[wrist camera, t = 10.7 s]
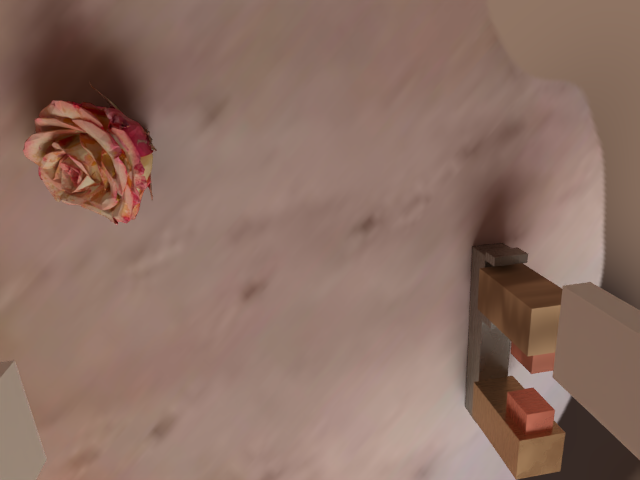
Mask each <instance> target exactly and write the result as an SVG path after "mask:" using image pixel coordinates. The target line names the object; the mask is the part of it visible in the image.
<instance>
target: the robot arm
mask: <svg viewBox="0 0 640 480" xmlns="http://www.w3.org/2000/svg"><path fill="white" fill-rule="evenodd" d="M553 378H554V379H555V380H556V381H557V382H558V383H559V384H560V385H561V386H562V387H563V388H564V389H565V390H566V391H568V392H569V393H570V394H571V395H572V396H573V397H574V398H575V399H576V400H577V401H578V402H579V403H580V404H581V405H582V406H583V407H584V408H585V409H587V410H588V411H589V412H590V413H591V414H592V415H593V416H594V417H595V418H596V419H597V420H598V421H599V422H600V423H601V424H603V426H604V427H606V428H607V429H608V430H609V431H610V432H611V433H612V434H613V435H614V436H615V437H616V438H617V439H618V440H619V441H620V442H621V443H622V444H623V445H625V446H626V447H627V448H628V449H629V450H630V451H631V452H632V453H633V454H634V455H635V456H636V457H637V458H638V459H639V460H640V310H638V309H636V308H634V307H633V306H631V305H629V304H627V303H626V302H624V301H622V300H620V299H619V298H617V297H615V296H613V295H612V294H610V293H608V292H606V291H605V290H603V289H601V288H600V287H598V286H596V285H594V284H593V283H591V282H588V283H581V284H573V285H566V286H563V290H562V298H561V307H560V316H559V325H558V334H557V343H556V352H555V361H554V369H553ZM46 460H47V459H46V456H45V452H44V449H43V446H42V443H41V440H40V437H39V434H38V431H37V428H36V425H35V421H34V418H33V415H32V412H31V409H30V406H29V403H28V400H27V397H26V394H25V391H24V387H23V384H22V381H21V378H20V375H19V372H18V369H17V366H16V363H15V360H13V361H6V362H0V480H36V479H37V477H38V475H39V473H40V471H41V469H42V467H43V465H44V463H45V462H46Z"/></svg>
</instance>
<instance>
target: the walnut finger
mask: <svg viewBox="0 0 640 480" xmlns="http://www.w3.org/2000/svg"><path fill="white" fill-rule="evenodd" d="M562 290H563V289H561V288H560V287H558V286H557V285H555V284H554V283H552V282H551V281H549V280H547V279H546V278H544V277H543V276H541V275H540V274H538V273H537V272H535V271H533V270H532V269H530V268H529V267H527V266H526V265H524V264H523V263H520V264H512V265H504V266H496V267H486V268H480V270H479V290H478V310H479V311H480V312H481V313H482V314H484V315H485V316H486V317H487V318H488V319H489V320H490V321H491V322H492V323H493V324H494V325H495V326H496V327H497V328H498V329H499V330H500V331H501V332H502V333H503V334H504V335H505V336H506V337H508V338H509V339H510V340H511V341H512V343H511V354H512V355H513V356H514V357H515V358H516V359H517V360H518V361H519V362H520V363H521V364H522V365H523V366H524V367H525V368H526V369H527V370H528V371H529V372H530V373H531V374H533V373H540V372H546V371H552V370H553V369H554V361H555V352H556V343H557V334H558V325H559V316H560V307H561V298H562Z"/></svg>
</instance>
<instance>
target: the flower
mask: <svg viewBox="0 0 640 480" xmlns="http://www.w3.org/2000/svg"><path fill="white" fill-rule="evenodd" d="M89 82H90V81H89ZM90 85H91V83H90ZM91 87H92V88H93V89H94V90H96V89H95V88H94V87H93V86H92V85H91ZM96 91H97V90H96ZM97 92H98V93H100V92H99V91H97ZM100 94H101V93H100ZM101 95H102V94H101ZM102 96H103V98H104V99H105V100H106V101H107V102H108V103H109V104H110V108H107V107H100V106H97V107H96V106H95V105H93V104H92V103H86V102H83V103H81V104H78V103H75V102H70V101H67V102H65V101H63V100H61V101H54V100H52V102H51V103H50V104H49V105H48V106H47V107H45V108H44V109H43V110H42V111H41V112H40V114H39V117H40V118H36V119H35V125H36V133H35V134H32V135H31V136H30V137H29V138H28V139H27V141H26V142H25V146H24V149H23V151H24V154H25V156H26V157H27V158H28V159H30V160H31V161H33V162H34V163H36V164H37V165H38V166H39V176H40V178H41V180H43V181H44V183H45V185H46V187H47V188H48V190H49V191H50V193H51V194H52V196H53V197H54V198H55V200H56V201H58V202H60V201H61V200H62V201H63V202H64V203H66V204H68V205H81V206H82V207H83V208H86V209H89V210H92V211H94V212H96V213H98V214H100V215H103V216H105V217H106V218H108V219H110V220H111V222H114V223H115V224H116V225H118V222H124V223H128V222H129V221H130V220H131V219H135V217H136V215H137V213H138V211H139V207H140V202H141V198H142V195H143V192H144V190H145V189H146V188H147V186H148V187H149V189H150V193H151V198H152V197H153V195H152V188H151V169H152V161H153V156H152V152H153V150H155V151H157V150H156V149H155V148H154V146H153V145H152V143H151V142H152V138H151V137H150V136H149V133H150V132H149V131H147V129H145V130H144V129H143V128H142V127H141V125H140V124H139V123H138V122H136V121H134V120H132V119H130V118H128V117H127V116H125V115H124V114H123V113H122V112H121V111H120V110H119V109H118V107H117V106H116V105H115V104H114V103H113V102H111V101H110V100H109V99H108V98H106V97H105V96H104V95H102ZM152 149H153V150H152ZM127 221H128V222H127Z"/></svg>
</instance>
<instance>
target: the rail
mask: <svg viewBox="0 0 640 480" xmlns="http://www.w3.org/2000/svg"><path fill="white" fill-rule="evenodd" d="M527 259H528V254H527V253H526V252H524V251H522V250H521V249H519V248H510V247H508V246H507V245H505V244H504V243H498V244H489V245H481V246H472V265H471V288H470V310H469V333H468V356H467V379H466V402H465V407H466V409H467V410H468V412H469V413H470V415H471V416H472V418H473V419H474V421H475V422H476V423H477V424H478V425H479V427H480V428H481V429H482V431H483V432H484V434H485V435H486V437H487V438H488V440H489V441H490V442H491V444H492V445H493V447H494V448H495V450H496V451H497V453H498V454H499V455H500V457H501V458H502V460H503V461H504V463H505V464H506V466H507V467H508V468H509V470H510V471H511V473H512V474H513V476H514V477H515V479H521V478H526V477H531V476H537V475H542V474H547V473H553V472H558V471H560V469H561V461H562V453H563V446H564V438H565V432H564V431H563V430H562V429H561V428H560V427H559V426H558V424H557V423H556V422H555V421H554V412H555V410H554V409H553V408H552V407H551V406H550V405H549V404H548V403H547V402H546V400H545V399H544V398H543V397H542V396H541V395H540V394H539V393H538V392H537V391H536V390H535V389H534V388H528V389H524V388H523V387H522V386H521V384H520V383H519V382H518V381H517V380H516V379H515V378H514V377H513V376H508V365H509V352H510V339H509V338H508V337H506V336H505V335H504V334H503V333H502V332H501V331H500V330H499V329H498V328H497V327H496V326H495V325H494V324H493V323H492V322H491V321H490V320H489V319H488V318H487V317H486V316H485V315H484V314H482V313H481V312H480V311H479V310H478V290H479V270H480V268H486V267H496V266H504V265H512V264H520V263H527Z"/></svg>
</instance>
